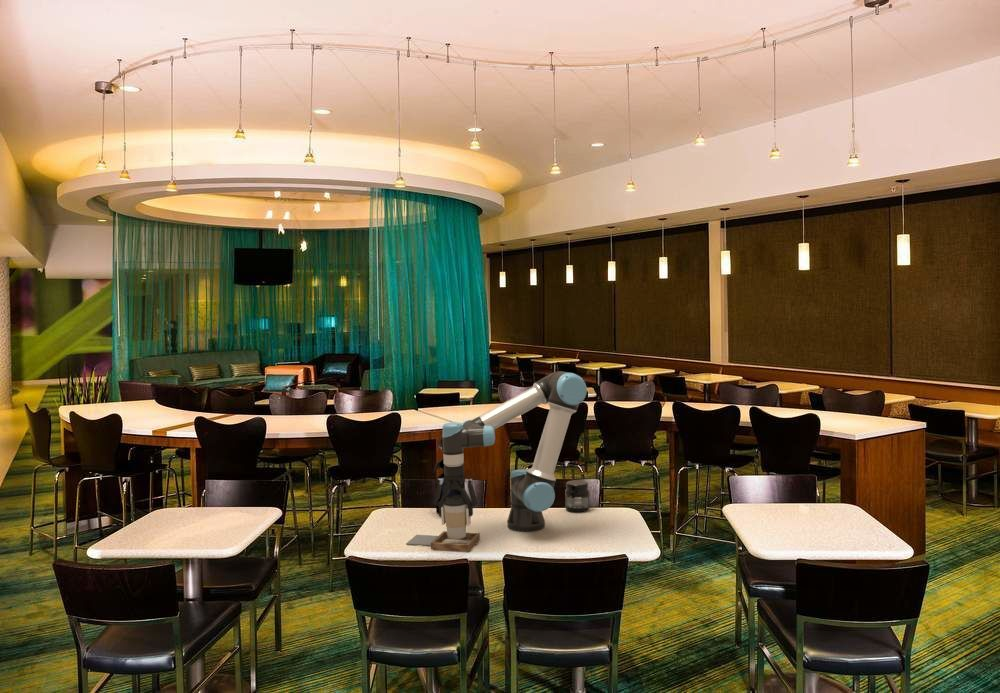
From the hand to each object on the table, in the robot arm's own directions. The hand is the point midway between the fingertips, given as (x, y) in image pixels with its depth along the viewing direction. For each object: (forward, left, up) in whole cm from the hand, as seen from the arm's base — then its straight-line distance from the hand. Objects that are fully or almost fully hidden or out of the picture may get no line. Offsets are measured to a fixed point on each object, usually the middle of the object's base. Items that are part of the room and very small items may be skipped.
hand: (456, 524), depth 271 cm
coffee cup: (0, 0, -5) cm, 5 cm away
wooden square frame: (0, 0, -8) cm, 8 cm away
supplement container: (-38, -54, -8) cm, 66 cm away
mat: (+13, -2, -8) cm, 15 cm away
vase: (+15, -39, -8) cm, 43 cm away
